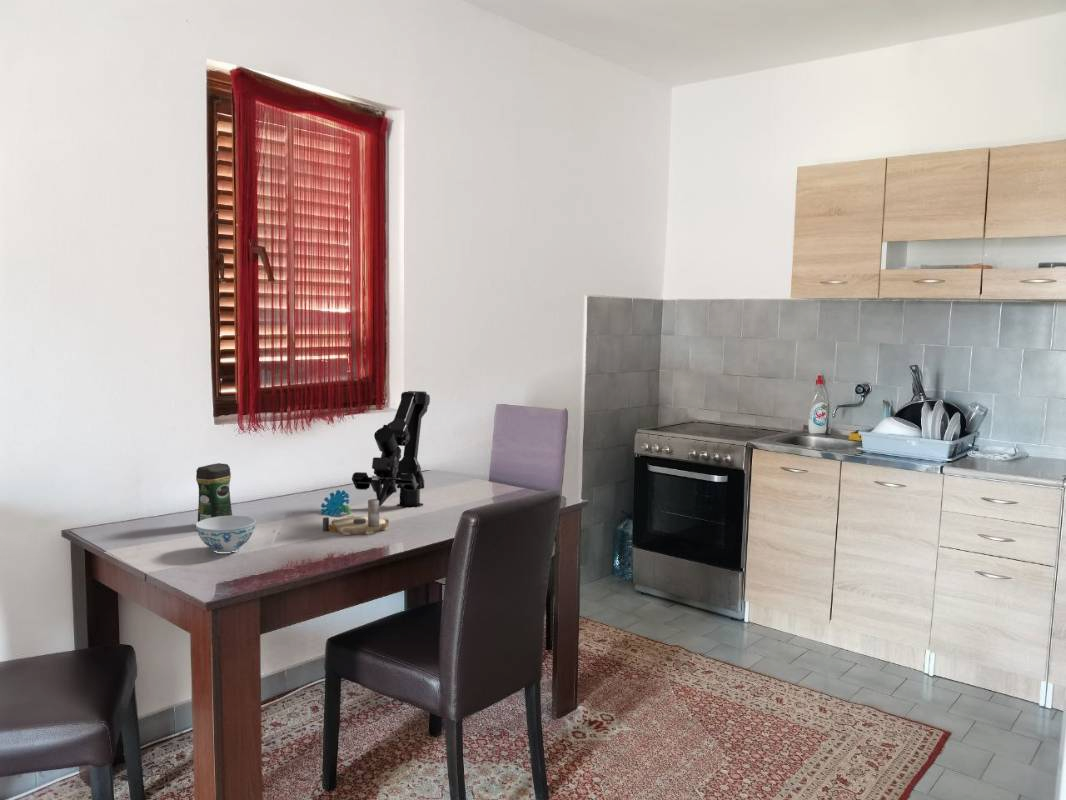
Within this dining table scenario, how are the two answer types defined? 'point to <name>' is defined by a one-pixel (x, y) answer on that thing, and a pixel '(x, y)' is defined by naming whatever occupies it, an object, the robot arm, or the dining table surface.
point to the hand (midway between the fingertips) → (378, 505)
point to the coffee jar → (214, 491)
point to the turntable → (361, 522)
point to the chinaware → (226, 532)
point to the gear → (336, 503)
